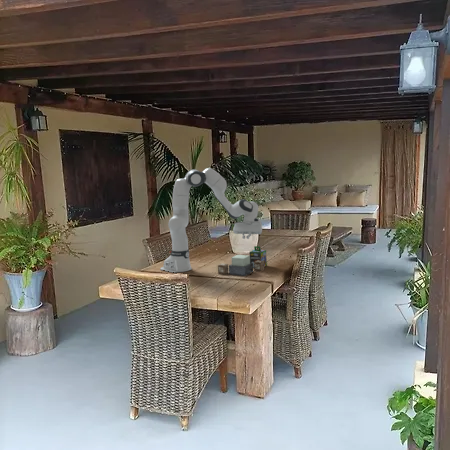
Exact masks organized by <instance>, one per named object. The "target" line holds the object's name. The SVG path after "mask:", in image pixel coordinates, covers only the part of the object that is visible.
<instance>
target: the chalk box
mask: <svg viewBox="0 0 450 450" xmlns="http://www.w3.org/2000/svg"><path fill="white" fill-rule="evenodd" d="M253 247H254V248H253V249H252V250H251V251H249V256H250V263H253V269H254V262H256V261H264V268H265V267H267V266H268V263H267V261H268V259H267V258H268V257H267V249H262V248H261V246H257V245H256V246H255V245H254V246H253Z"/></svg>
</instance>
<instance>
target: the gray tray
mask: <svg viewBox="0 0 450 450" xmlns="http://www.w3.org/2000/svg"><path fill="white" fill-rule="evenodd" d="M251 272H252V273H253V272H254V268H253V263H250V264H248V265H246V266H233V265H232V263H230V264H228V275H231V276H242V277H246V276H248V275H250V274H252V273H251Z"/></svg>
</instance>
